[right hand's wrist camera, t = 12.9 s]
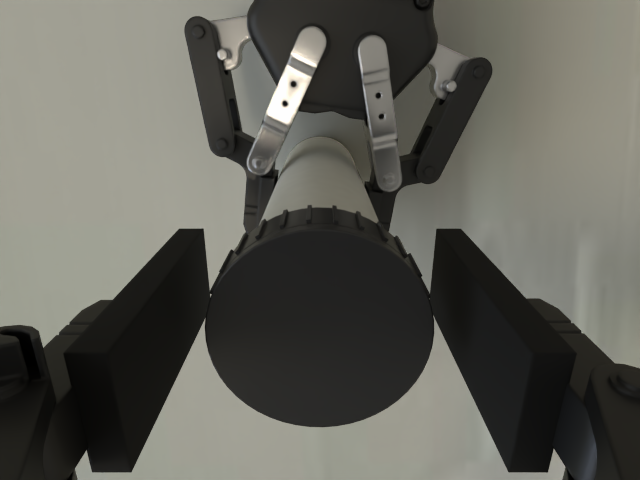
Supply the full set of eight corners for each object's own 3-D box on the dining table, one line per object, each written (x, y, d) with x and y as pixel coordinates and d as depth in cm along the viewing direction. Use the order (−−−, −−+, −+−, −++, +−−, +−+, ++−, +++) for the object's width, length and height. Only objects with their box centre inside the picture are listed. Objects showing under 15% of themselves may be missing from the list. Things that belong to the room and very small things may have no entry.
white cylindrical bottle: (338, 124, 27) (371, 207, 10) (366, 189, 29) (440, 366, 11) (272, 154, 28) (189, 285, 10) (302, 217, 30) (276, 425, 12)
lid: (375, 168, 11) (386, 185, 9) (448, 344, 12) (468, 385, 11) (180, 254, 12) (156, 285, 10) (274, 408, 13) (267, 456, 12)
